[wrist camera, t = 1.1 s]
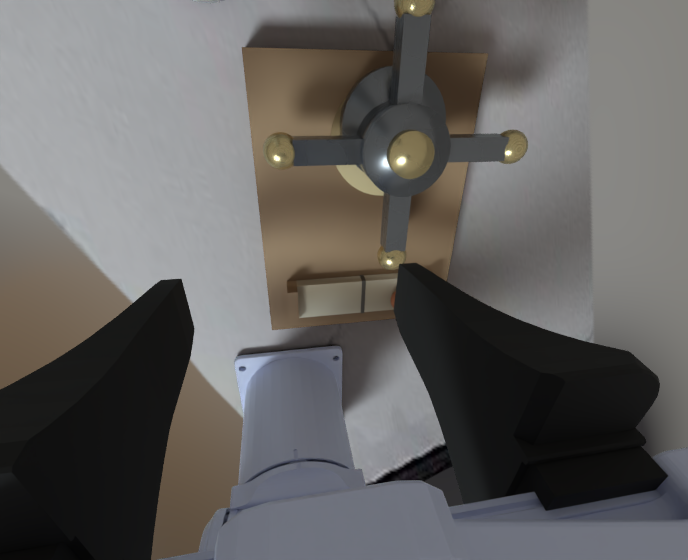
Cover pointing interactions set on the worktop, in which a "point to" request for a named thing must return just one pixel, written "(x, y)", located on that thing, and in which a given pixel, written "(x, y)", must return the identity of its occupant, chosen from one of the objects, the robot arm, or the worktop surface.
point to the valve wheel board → (344, 186)
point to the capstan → (396, 132)
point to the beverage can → (207, 1)
